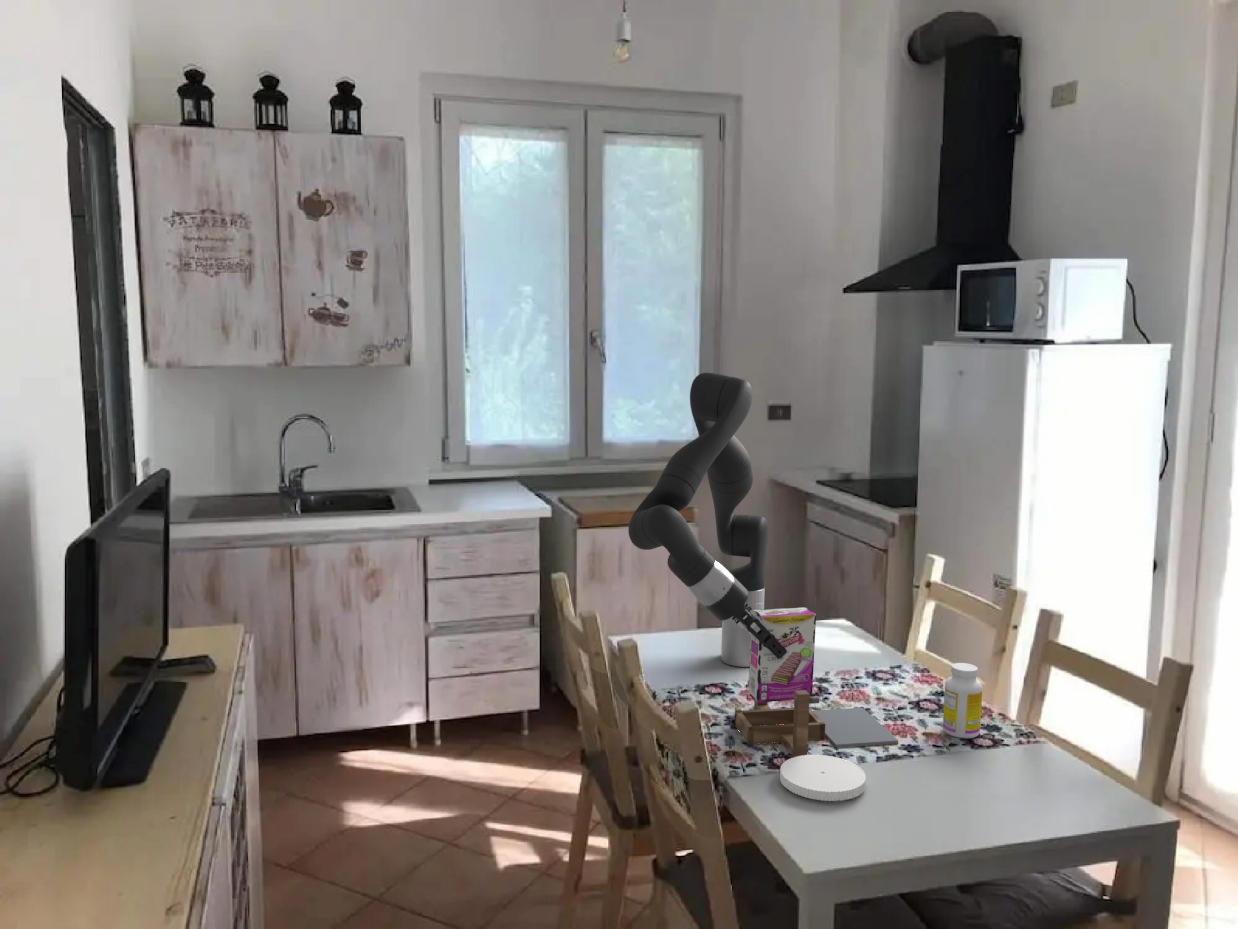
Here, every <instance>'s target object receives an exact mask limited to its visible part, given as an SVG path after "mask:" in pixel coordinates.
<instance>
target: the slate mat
mask: <svg viewBox="0 0 1238 929" xmlns="http://www.w3.org/2000/svg"><path fill="white" fill-rule="evenodd" d="M812 711H813V712H814V713H815V714H816V715H817V716H818V717H819V718H820V719H821V720H822V721H823V722H824V723H825V739H828V741H829V742H830V743H831V744H832V745H833V747H835V748H836V749H837V748H853V747H863V746H864V747H865V746H866V747H867V746H869V747H870V746H881V745H883V746H885V745H895V744H899V740H898V739H897V738H896V736H894V735H893V734H892V733H891V732H890V731H889V730H888V729H887V728H885V726H883V725H882V724H881V722H879V721H878V720H877V719H876V718H874V717H873V716H872V715H871V714H870V713H869V712H868V711H867V710H866V709H865V708H864V707H853V708H852V707H851V708H836V709H835V708H834V709H817V710H815V709H814V710H812Z"/></svg>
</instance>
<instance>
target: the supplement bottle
mask: <svg viewBox="0 0 1238 929" xmlns="http://www.w3.org/2000/svg"><path fill="white" fill-rule="evenodd" d="M950 672H951V676H949V677H948V678H947V679H946V680H945V682H944V697H943V715H942V716H943V717H942V729H943V731H944V732H945V734H947V735H949V736H951V737H954V738H960V739H973V738H977V737H978V736H979V735H980V732H981V721H982V720H981V718H982V701H983V700H982V699H983V685H982V683H981V682H980V681H979V679H977V677H978V675H979V668H978V666H976V665H974V664H971V663H967V662H966V663H965V662H957V663H956V662H955V663H952V665H951V669H950Z"/></svg>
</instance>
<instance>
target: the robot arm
mask: <svg viewBox="0 0 1238 929" xmlns="http://www.w3.org/2000/svg"><path fill="white" fill-rule="evenodd" d="M752 402H753V389H752V386H751V384H750V382H749V381H748V380H746V379H743V378H740V377H734V376H730V375H725V374H720V373H714V372H702V373H699V374H697V375H696V376H695V378H694V379H693V380H692V383H691V385H690V391H689V405H690V410H691V415H692V417H693V420H694V424H695V426H696V430H697V432H698V437H697V438H695V439H693V440H692V441H690V442H688V443H687V444H685V445H684V446H682V447H681V448H679V450H677V451H675V453H674V454H673V455H672V456H671V457H670V459H669V460H668V462H667V463H666V465H665V467H664V469H663V471H662V472H661V475H660V476H659V478H658V480H657V483H656V484H655V486H654V487H653V488H652V490H651V491H650V492H649V493H648V494H647V495H646V497H645V498H644V499H643V500H642V501H641V503H640V504H639V505H638V507H637V508H636V509H635V511H634V512H633V514H632V515H631V518H630V521H629V525H628V530H627V531H628V536H629V539H630V541H631V543H632V544H633V546H635V547H636V548H638V549H639V550H645V551H646V550H648V551H649V550H654V549H657V548H661V547H664V548H665V549H666V550H667V552H668V553H669V555H668V558H667V566H668V568H669V570H670V571H671V572H672V573H673V575H675V576H676V577H677V578H678V579H679V580H680V581H681V582H682V583H683V585H685V586H686V587H687V588H688V589H689V591H690V592H691V594H692V595H693V596H694V597H695V598H696V599H697V601H699V602H700V603H701V604H702V605H703V607H705V608H706V609H707V610H708V611H709V612H710V613H711V614H712V615H713V616H714V617H715V618H716V619H717V620H719V621H722V624H721V647H720V649H721V650H720V651H721V653H720V656H721V657H720V660H721V662H723V663H724V664H726V665H730V666H734V667H740V668H741V667H742V668H743V667H744V668H749V666H750V642H751V637H752V638H753V639H756V638H757V639H758V640H759V641H760V642H761V643H762V645H763V646H764V647H766V648H768V649H769V650H770V651H771V652H772V653H773V654H774V655H775V656H776V657H777V658H778V659H780V658H782V657H783V656H784V655H785V654H786V652H787V650H786V649H785V648H784V647H783V646H782V645H781V644H780V643H779V642H778V641H777V640H776V638H775V636H774V635H773V634H771V633H770V632H769V631H768V630H767V629H766V628H767V625H766V624H765V623H764V622H763V621H762V620H761V619H760V618H759V617H758V616H757V613H756V612H755V611H754V610H764V609H765V594H766V593H765V588H766V568H767V567H766V566H767V553H768V552H767V551H768V542H769V523H768V521H767V519H766V518H765V517H764V516H761V515H753V514H752V515H751V514H750V515H749V514H737V513H733V512H734V511H735V509H736V508H737V507H738V506H739V505H740V504H741V502H742V501H743V500H745V498H746V497H747V496H748V494H749V492H750V491H751V488H752V486H753V482H754V475H753V469H752V462H751V458H750V455H749V452H748V450H747V449H746V448H745V447H744V445H743V444H742V443H741V441H740V440H739V439H738V438H737V437H736V436H735V434H736V433H737V431H738V430H739V429H740V427H741V426H742V425H743V423H744V422H745V420H746V418H747V416H748V414H749V411H750V409H751V406H752ZM705 475H707V479H708V484H709V488H710V493H711V497H712V501H713V506H714V516H715V517H714V518H715V527H716V538H717V544H718V548H719V550H720V552H721V553H722V554H724V555H727V556H732V557H744V558H750V562H749V563H747V564H745V565H743V566H739V567H737V568H732V569H729V570H728V569H727V568H726V567H725V566H724V565H723V564H722V563H720V562H719V561H717V560H716V559H715V558H714V557H713V556H712V554H711V553H709V552H708V551H707V550H706V548H704V547H703V546H702V545H701V543H699V541H698V539H697V537H696V535H695V534H694V532H693V531H692V528H691V527H690V526H689V523H688V522H687V520H686V518H684V516H683V515H682V514H681V513H680V512H681V511H682V510H684V509H685V508H687V507H688V506H689V505H690V503H691V502H692V501H693V499H694V496H695V495H696V493H697V490H698V489H699V488H700V485H701V483H702V481H703V479H704V477H705ZM753 616H754V617H755V618H756V619H755V618H754V617H753ZM754 630H755V631H754ZM766 634H768V636H767V637H766V638H765V639H764V640H762V638H763V637H764V636H765V635H766Z"/></svg>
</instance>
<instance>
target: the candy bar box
mask: <svg viewBox="0 0 1238 929" xmlns="http://www.w3.org/2000/svg"><path fill="white" fill-rule="evenodd" d="M754 611H755V612H756V613H757V616H758V617H759V618H760V619H761V620H762V621H763V622H764V623H765V624H766V625H767V628H766V629H767V630H768V631H769V632H770V633H771V634H773V635H774V636H775V638H776V640H777V641H778V642H779V643H780V644H781V645H782V646H783V647H784V648H785V649H786V650H787V652H786V654H785V655H784V656H783V657H782V658H780V659H778V658H777V657H776V656H775V655H774V654H773V653H772V652H771V651H770V650H769V649H768V648H766V647H764V646H763V645H762V643H761V642H760V641H759V640H758V639H757V638H756V639H753V638H752V637H751V642H750V666H749V667H748V668H749V669H748V695H749V697H751V698H752V699H753V700H755V701H756V702H758V703H760V702H767V703H769V702H771V703H772V702H782V701H783V702H785V701H794V697H795V691H799V690H806V691H807V692H808V693H809V694H810V697H813V687H814V684H813V683H814V663H815V647H816V646H815V644H816V642H815V641H816V626H817V625H816V624H817V614H816V613H815V612H813V611H812V610H810V609H809V608H807V607H790V608H789V607H787V608H771V609H770V608H768V609H765V608H764V610H754ZM753 617H754V616H753ZM754 618H755V617H754ZM755 619H756V618H755ZM754 631H755V630H754ZM767 636H768V634H766V635H765V636H764V637H763V638H762V640H764V639H765V638H766V637H767Z"/></svg>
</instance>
